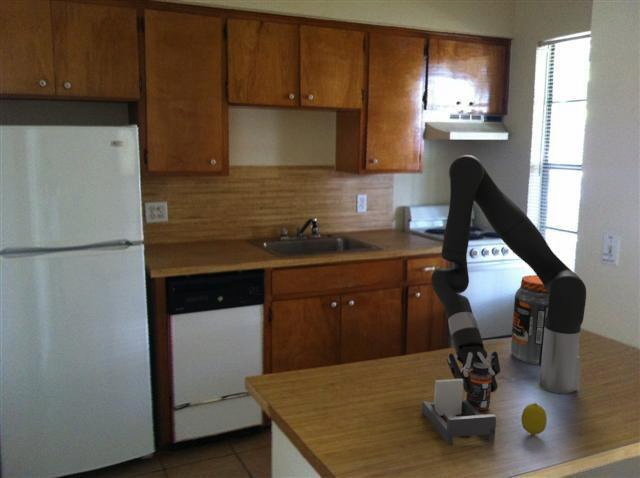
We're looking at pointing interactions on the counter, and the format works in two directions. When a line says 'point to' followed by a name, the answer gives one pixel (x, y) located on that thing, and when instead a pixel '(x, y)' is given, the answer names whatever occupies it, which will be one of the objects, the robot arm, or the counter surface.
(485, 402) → the supplement bottle
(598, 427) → the counter surface
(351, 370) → the counter surface
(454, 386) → the plate
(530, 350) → the supplement tub
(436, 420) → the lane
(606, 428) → the counter surface
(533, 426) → the lemon
